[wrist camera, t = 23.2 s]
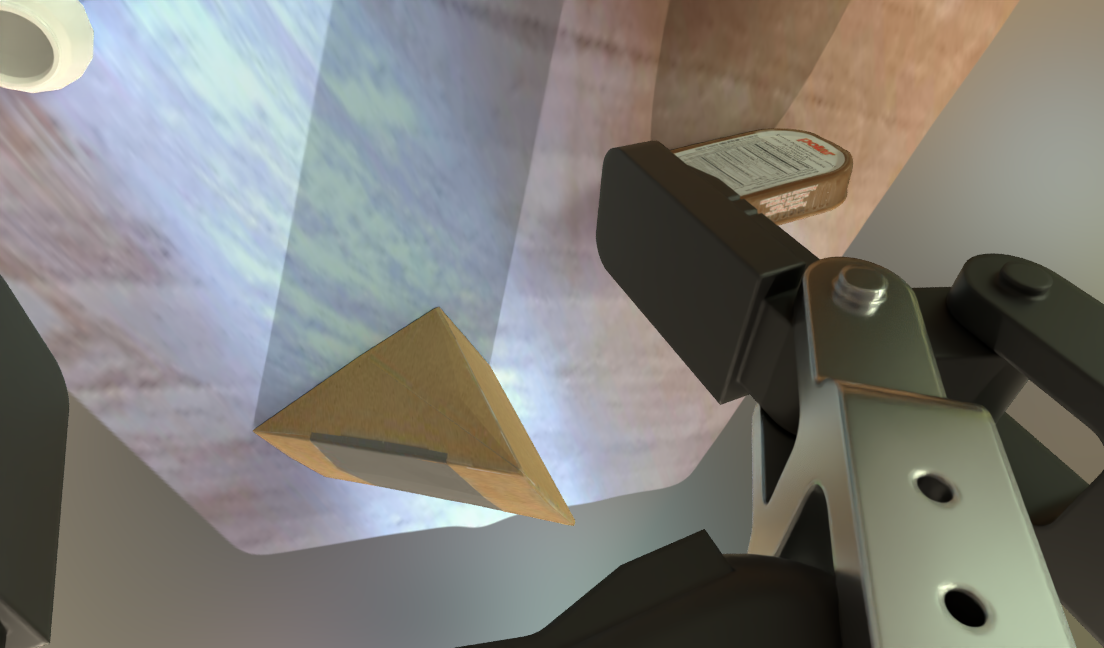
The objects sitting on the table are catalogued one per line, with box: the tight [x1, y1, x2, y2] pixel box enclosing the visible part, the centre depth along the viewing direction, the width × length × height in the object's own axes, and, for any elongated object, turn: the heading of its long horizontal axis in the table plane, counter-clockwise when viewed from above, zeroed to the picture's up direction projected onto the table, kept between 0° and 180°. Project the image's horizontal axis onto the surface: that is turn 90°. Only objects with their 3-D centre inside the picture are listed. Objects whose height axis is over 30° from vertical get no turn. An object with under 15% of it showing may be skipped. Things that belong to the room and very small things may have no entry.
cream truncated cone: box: [0, 0, 94, 93], centre depth 26 cm, size 5×3×5 cm
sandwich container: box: [253, 307, 575, 526], centre depth 43 cm, size 9×15×15 cm, turn 113°
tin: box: [670, 129, 853, 225], centre depth 44 cm, size 15×3×8 cm, turn 89°
